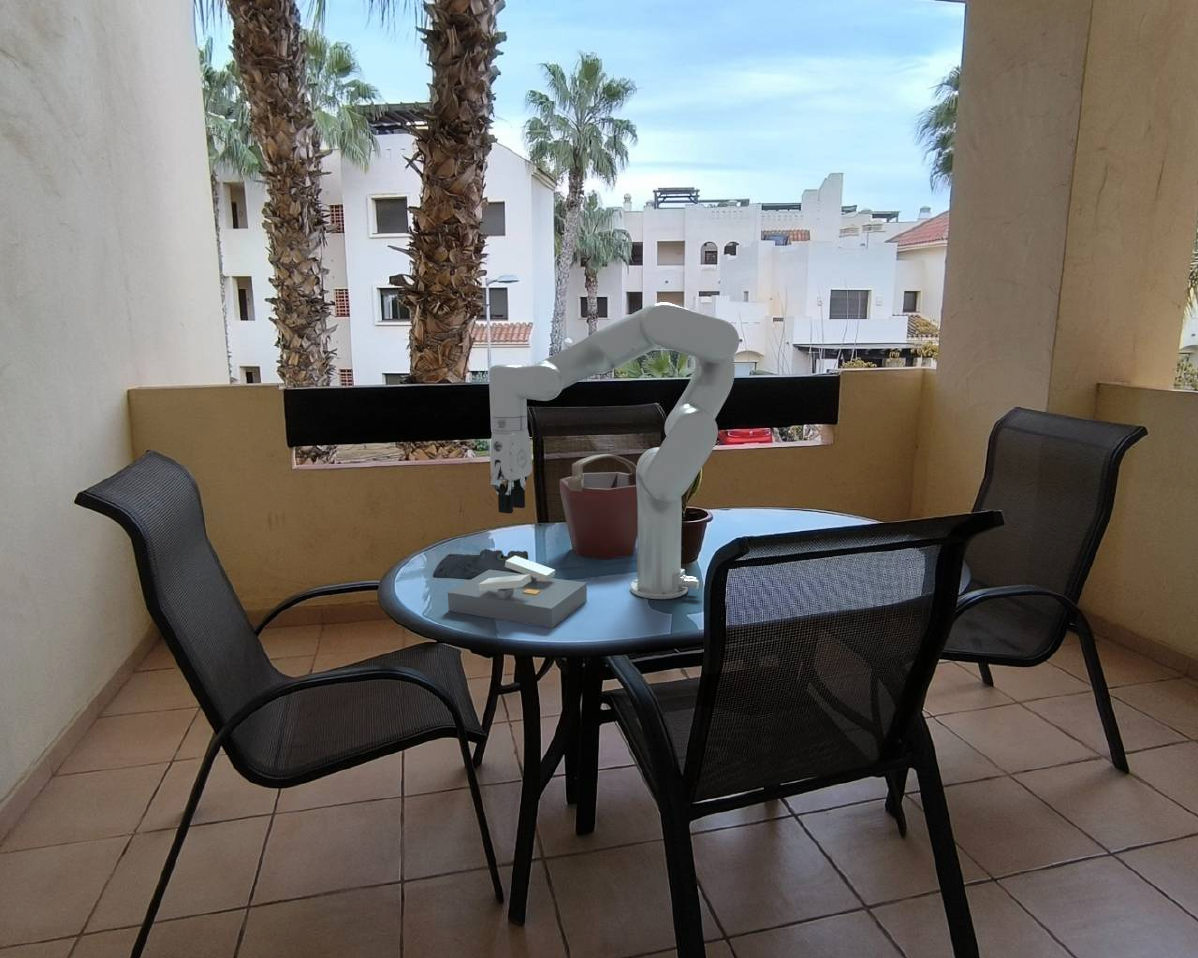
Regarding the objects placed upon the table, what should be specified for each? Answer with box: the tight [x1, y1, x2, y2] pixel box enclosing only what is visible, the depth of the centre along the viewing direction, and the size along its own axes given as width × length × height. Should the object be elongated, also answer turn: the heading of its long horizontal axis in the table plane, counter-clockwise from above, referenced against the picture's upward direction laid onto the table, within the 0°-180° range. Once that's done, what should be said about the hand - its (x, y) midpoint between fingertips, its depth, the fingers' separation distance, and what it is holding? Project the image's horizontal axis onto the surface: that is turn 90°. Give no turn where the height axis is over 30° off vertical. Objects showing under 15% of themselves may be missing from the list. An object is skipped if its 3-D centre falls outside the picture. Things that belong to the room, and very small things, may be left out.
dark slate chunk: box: [432, 548, 530, 580], centre depth 180 cm, size 15×22×5 cm
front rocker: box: [478, 574, 531, 591], centre depth 151 cm, size 10×4×1 cm, turn 66°
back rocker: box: [505, 556, 556, 582], centre depth 160 cm, size 10×4×1 cm, turn 66°
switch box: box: [447, 569, 588, 629], centre depth 156 cm, size 24×16×6 cm, turn 66°
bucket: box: [559, 453, 638, 561], centre depth 194 cm, size 24×22×25 cm
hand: (512, 509), depth 159 cm, fingers open, 4 cm apart
